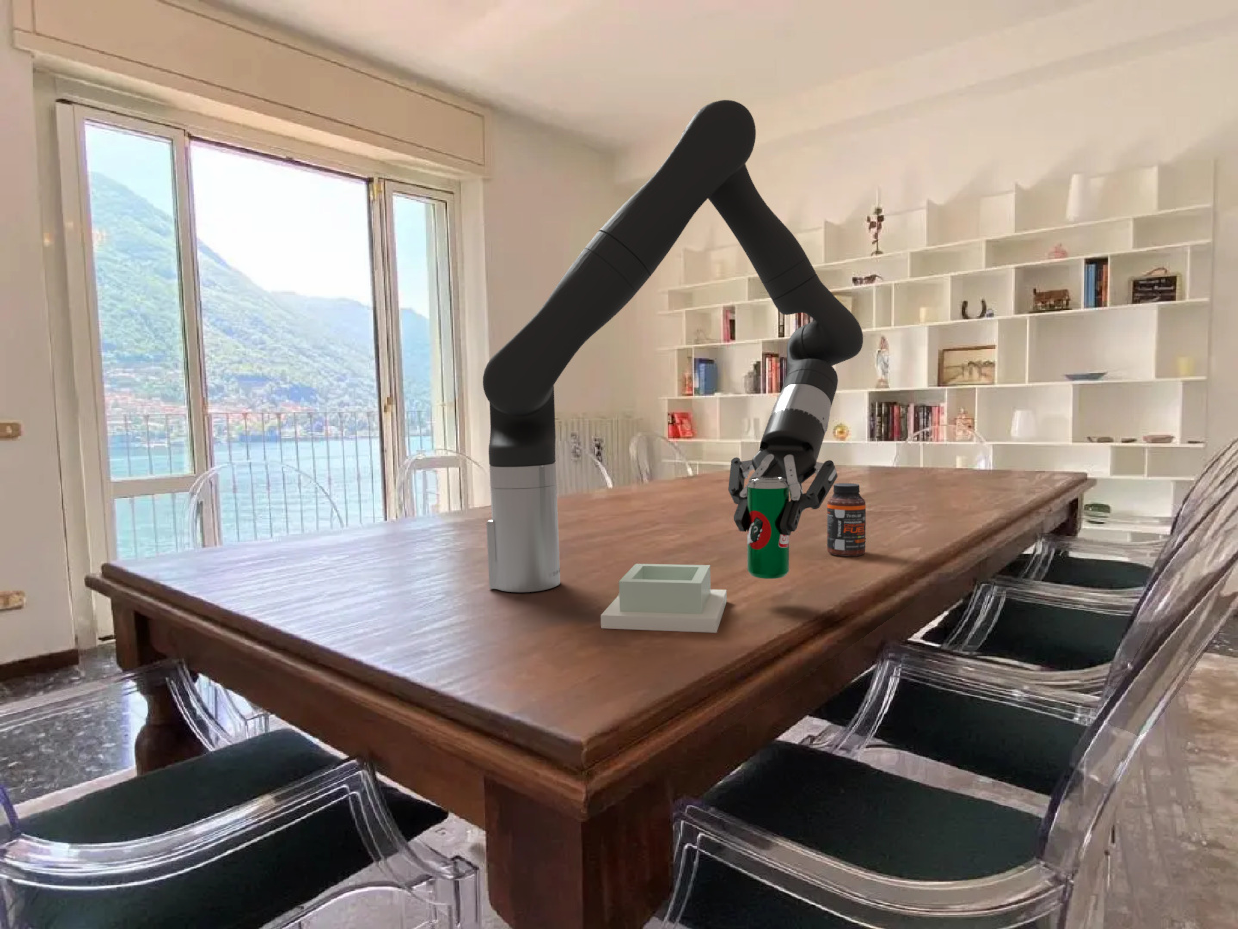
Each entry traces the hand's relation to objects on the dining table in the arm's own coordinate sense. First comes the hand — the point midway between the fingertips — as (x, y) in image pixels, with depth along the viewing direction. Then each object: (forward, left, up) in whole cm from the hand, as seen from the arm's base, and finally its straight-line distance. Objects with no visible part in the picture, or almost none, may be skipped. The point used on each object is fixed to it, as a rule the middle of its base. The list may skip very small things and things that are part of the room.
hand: (762, 529), depth 91 cm
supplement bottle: (+12, +34, -10) cm, 37 cm away
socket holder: (-11, -4, -10) cm, 15 cm away
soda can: (+1, +2, -6) cm, 6 cm away
